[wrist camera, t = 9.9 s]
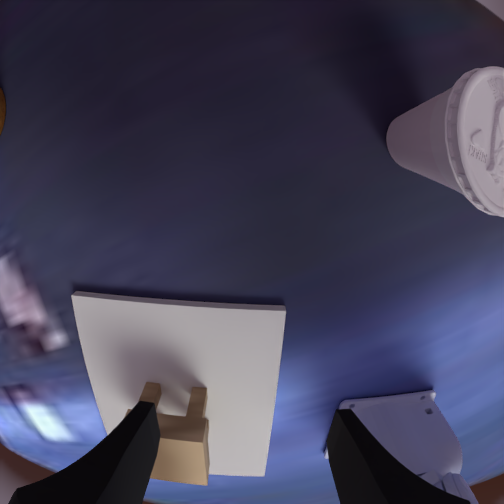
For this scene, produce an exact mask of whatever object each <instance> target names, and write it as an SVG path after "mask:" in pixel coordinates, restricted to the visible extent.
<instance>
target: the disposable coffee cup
mask: <svg viewBox="0 0 504 504" xmlns="http://www.w3.org/2000/svg"><path fill="white" fill-rule="evenodd" d="M5 113H6V103H5V97H4V94H3V91H2V89H1V88H0V135H1V132H2V129H3V125H4V120H5Z"/></svg>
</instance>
